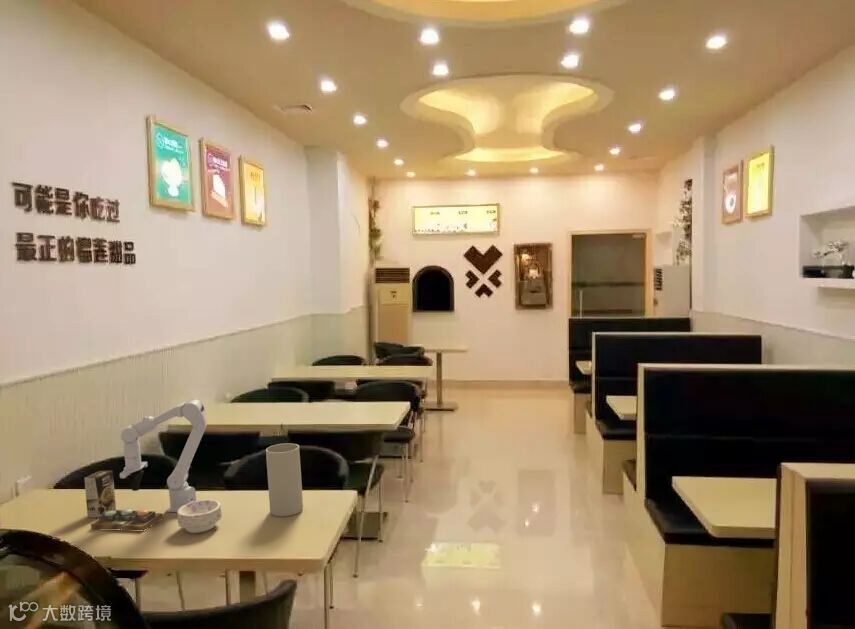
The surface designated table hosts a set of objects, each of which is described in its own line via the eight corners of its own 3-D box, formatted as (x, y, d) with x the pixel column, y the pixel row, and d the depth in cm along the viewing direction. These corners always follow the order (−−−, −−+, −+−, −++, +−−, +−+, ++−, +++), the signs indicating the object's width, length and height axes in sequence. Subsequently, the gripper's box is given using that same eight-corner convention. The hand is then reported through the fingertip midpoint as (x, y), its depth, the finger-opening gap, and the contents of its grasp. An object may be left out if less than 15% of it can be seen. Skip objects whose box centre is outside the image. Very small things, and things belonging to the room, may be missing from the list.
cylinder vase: (280, 520, 243) (275, 454, 241) (264, 511, 252) (260, 448, 250) (309, 510, 251) (305, 447, 249) (292, 502, 260) (288, 441, 258)
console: (163, 518, 250) (162, 508, 249) (143, 531, 238) (142, 520, 238) (112, 516, 254) (111, 506, 254) (91, 529, 242) (90, 518, 242)
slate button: (135, 512, 247) (134, 508, 247) (128, 516, 243) (127, 512, 243) (125, 512, 248) (125, 508, 248) (118, 516, 244) (118, 512, 244)
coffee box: (101, 518, 253) (97, 477, 252) (86, 517, 255) (83, 477, 253) (116, 509, 262) (113, 470, 261) (102, 508, 263) (99, 469, 262)
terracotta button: (151, 513, 246) (151, 509, 246) (144, 517, 242) (144, 513, 242) (142, 513, 247) (141, 508, 247) (135, 517, 243) (135, 512, 243)
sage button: (118, 514, 249) (118, 510, 249) (112, 518, 245) (111, 514, 245) (109, 514, 250) (109, 510, 249) (102, 518, 246) (102, 514, 245)
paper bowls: (181, 540, 229) (179, 518, 228) (176, 525, 242) (174, 504, 242) (225, 530, 236) (224, 509, 235) (218, 516, 249) (217, 496, 248)
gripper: (135, 450, 263) (138, 483, 264) (111, 462, 249) (114, 496, 250) (150, 451, 261) (153, 483, 263) (127, 462, 247) (131, 496, 248)
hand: (135, 490), depth 256 cm, fingers closed
